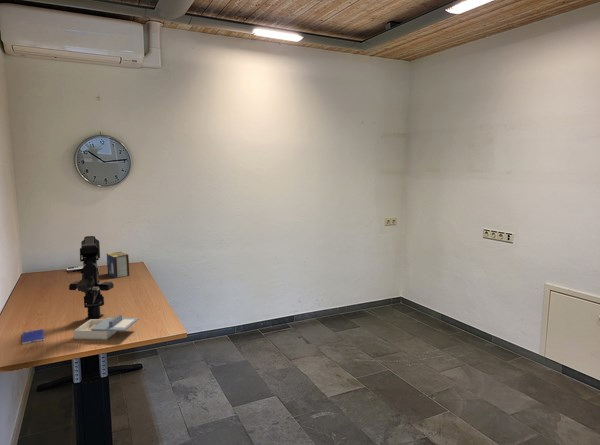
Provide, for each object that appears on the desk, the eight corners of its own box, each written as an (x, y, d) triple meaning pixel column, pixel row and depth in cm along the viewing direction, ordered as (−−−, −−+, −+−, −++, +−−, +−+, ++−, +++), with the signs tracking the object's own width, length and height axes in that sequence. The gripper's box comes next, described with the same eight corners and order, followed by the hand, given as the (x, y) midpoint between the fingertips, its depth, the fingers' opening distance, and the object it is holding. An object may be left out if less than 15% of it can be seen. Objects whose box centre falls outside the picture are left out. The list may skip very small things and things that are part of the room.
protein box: (122, 271, 304) (121, 251, 302) (129, 275, 292) (128, 254, 291) (107, 274, 297) (106, 253, 295) (114, 278, 285) (113, 256, 283)
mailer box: (91, 327, 196) (90, 319, 196) (121, 327, 196) (121, 319, 195) (74, 339, 182) (73, 330, 182) (106, 339, 182) (106, 331, 181)
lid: (107, 318, 195) (107, 312, 195) (138, 319, 195) (138, 313, 194) (91, 330, 181) (90, 323, 181) (125, 331, 181) (124, 324, 180)
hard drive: (22, 332, 187) (21, 342, 177) (43, 328, 191) (44, 338, 181) (22, 335, 187) (22, 345, 177) (43, 332, 191) (44, 341, 181)
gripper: (60, 275, 183) (62, 309, 185) (101, 276, 182) (102, 309, 184) (74, 269, 194) (76, 301, 196) (113, 270, 193) (115, 301, 195)
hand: (92, 303), depth 192 cm, fingers closed
